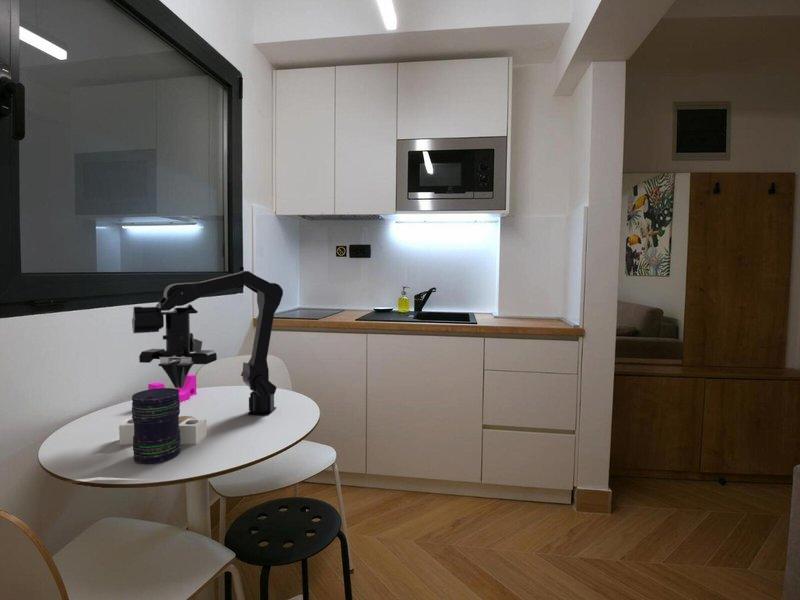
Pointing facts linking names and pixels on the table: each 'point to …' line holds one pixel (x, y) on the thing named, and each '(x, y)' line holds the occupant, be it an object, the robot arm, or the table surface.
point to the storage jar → (156, 425)
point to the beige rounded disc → (185, 418)
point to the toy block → (184, 392)
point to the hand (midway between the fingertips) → (179, 387)
